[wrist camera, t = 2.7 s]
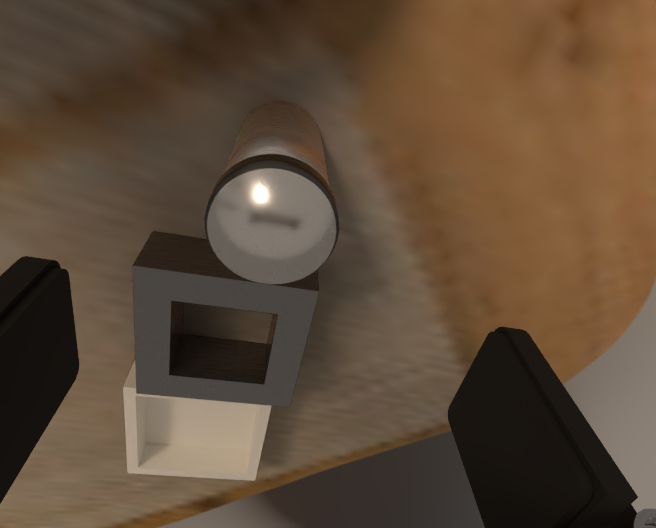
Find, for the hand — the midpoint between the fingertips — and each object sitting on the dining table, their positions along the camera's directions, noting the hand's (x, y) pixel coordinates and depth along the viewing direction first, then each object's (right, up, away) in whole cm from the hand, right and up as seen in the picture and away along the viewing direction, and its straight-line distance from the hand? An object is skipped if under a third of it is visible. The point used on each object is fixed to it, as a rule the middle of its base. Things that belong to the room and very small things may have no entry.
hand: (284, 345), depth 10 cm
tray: (-8, -8, +21) cm, 24 cm away
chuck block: (-5, -1, +16) cm, 17 cm away
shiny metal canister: (-1, +8, +11) cm, 14 cm away
